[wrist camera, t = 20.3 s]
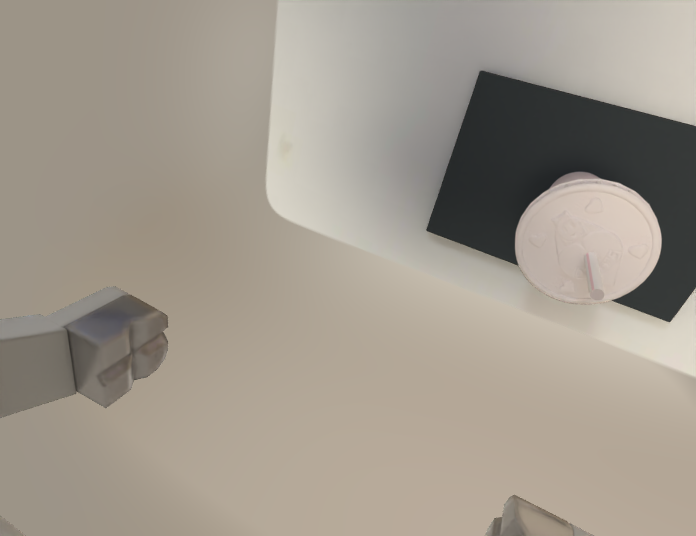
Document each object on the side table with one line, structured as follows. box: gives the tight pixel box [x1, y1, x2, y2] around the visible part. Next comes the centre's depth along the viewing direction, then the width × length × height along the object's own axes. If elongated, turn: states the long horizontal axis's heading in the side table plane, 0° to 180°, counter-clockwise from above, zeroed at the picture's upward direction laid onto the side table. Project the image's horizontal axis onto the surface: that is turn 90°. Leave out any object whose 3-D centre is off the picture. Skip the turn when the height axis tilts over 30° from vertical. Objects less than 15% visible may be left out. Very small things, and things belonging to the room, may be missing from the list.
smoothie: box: [515, 172, 662, 304], centre depth 23 cm, size 6×6×14 cm
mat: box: [426, 71, 696, 322], centre depth 29 cm, size 18×12×1 cm, turn 76°
